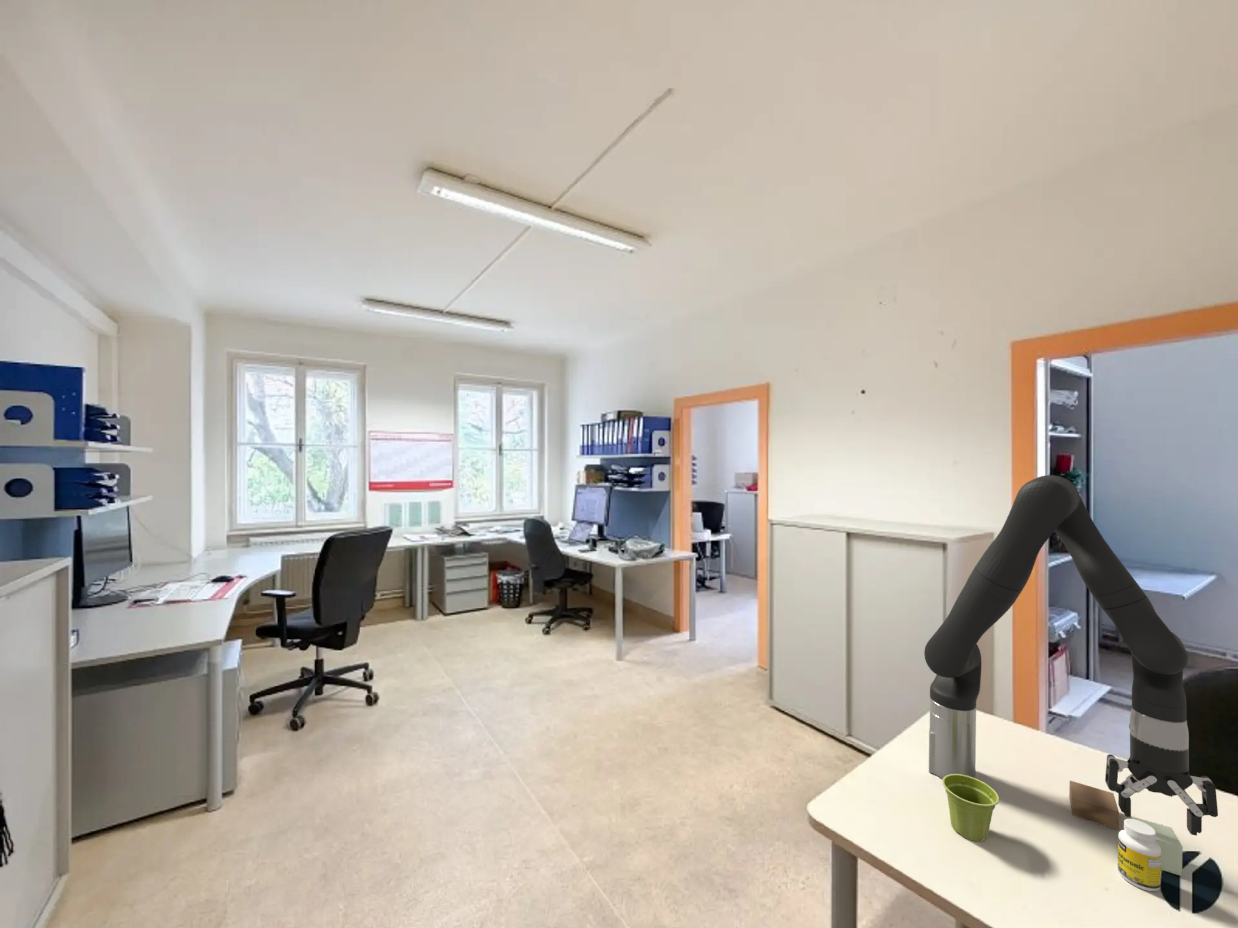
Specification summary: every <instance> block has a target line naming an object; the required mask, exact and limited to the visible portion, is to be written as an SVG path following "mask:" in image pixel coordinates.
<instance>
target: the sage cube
mask: <svg viewBox="0 0 1238 928" xmlns="http://www.w3.org/2000/svg"><path fill="white" fill-rule="evenodd" d="M1130 819H1135V820H1138V821H1141V822H1144V823H1146V824H1147V825H1149V826H1151V827H1152V828H1153V829H1154V830H1155V832H1156V842H1157V843H1158V844H1159V846H1160V848H1161V871H1164V872H1167V873H1170V874H1174V875H1177V876H1180V877H1182V876H1183V849H1184V848H1183V845H1182V843H1181V841H1180V840H1179V839H1178V837H1177V834H1176V833H1175V831H1174V828H1173V827H1171V826H1168V825H1164V824H1159V823H1158V822H1157V823H1156V822H1153V821H1150V820H1149V821H1148V820H1146V819H1142V818H1139V817H1135V816H1131V818H1130Z"/></svg>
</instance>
